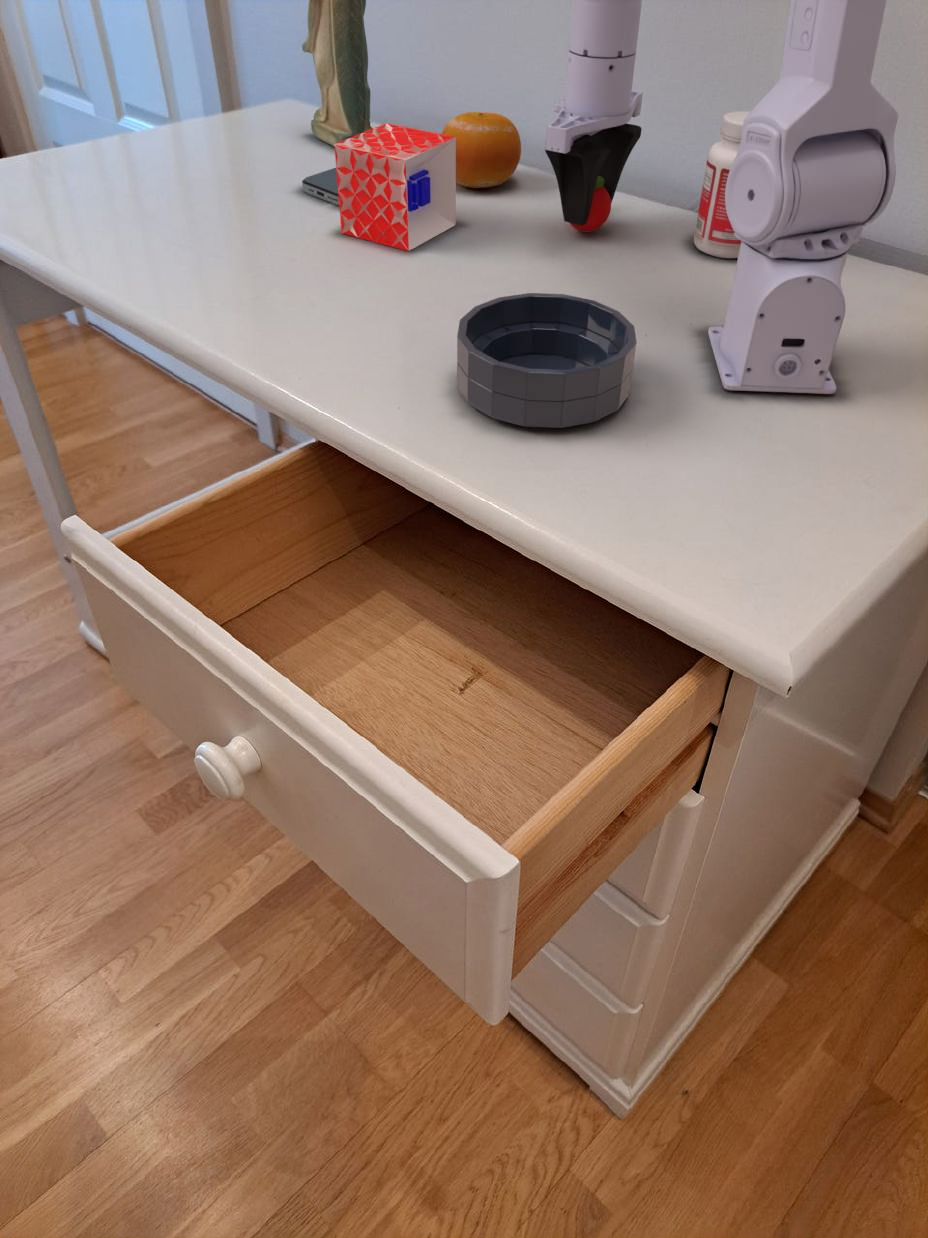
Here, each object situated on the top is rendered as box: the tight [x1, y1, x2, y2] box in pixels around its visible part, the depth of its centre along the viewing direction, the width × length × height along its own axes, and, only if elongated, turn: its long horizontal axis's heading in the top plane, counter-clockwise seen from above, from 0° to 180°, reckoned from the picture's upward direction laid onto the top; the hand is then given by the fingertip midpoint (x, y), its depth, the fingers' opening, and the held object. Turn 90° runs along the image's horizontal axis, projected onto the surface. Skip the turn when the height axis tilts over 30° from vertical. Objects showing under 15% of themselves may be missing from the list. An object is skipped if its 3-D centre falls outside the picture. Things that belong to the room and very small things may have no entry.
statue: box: [301, 0, 373, 148], centre depth 102 cm, size 7×8×25 cm
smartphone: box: [301, 167, 339, 207], centre depth 98 cm, size 8×2×15 cm
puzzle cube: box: [334, 123, 457, 252], centre depth 87 cm, size 8×8×8 cm
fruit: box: [441, 111, 522, 189], centre depth 97 cm, size 8×8×8 cm
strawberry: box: [569, 176, 612, 233], centre depth 87 cm, size 4×4×5 cm
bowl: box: [456, 292, 637, 429], centre depth 65 cm, size 12×12×4 cm
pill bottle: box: [693, 110, 752, 259], centre depth 83 cm, size 6×6×11 cm
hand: (587, 214), depth 88 cm, fingers closed on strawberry, 4 cm apart
